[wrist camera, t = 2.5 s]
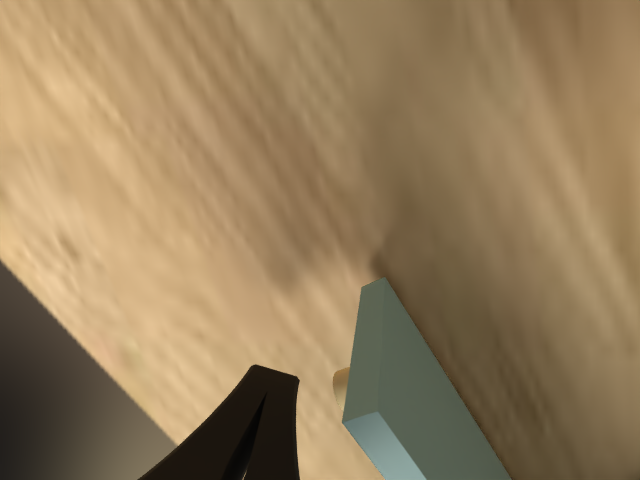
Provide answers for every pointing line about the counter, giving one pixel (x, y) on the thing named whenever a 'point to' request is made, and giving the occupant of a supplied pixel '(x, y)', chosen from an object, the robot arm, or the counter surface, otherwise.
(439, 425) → the door
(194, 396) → the counter surface
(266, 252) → the counter surface
